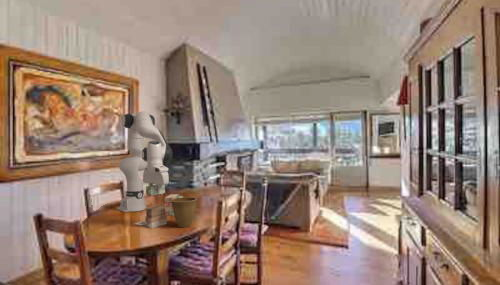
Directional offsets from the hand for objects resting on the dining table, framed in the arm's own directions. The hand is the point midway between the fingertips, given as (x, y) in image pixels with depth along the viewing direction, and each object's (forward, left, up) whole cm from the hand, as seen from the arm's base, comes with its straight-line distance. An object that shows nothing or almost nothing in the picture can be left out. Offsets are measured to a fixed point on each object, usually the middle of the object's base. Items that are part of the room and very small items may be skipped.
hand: (155, 191), depth 193 cm
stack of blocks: (-18, +30, -21) cm, 41 cm away
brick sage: (0, 0, -2) cm, 2 cm away
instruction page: (-11, -1, -21) cm, 23 cm away
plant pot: (+15, +8, -21) cm, 27 cm away
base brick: (0, 0, -21) cm, 21 cm away
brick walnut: (0, 0, -15) cm, 15 cm away
